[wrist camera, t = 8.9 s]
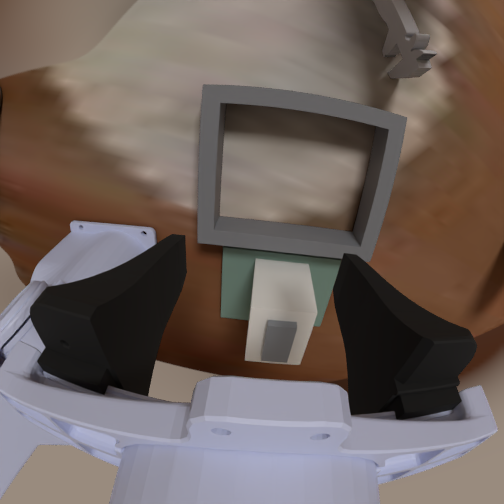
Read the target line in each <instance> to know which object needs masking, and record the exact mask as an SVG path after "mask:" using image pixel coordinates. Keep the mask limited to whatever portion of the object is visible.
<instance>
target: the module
mask: <svg viewBox="0 0 504 504" xmlns="http://www.w3.org/2000/svg"><path fill="white" fill-rule="evenodd" d="M316 316H317V307H316V301H315V295H314V289H313V284H312V278H311V273H310V268H309V264H304V263H294V262H285V261H276V260H266V259H257V258H256V260H255V269H254V278H253V287H252V295H251V304H250V313H249V323H248V333H247V342H246V352H245V361H254V362H265V363H278V364H294V365H300V362H301V360H302V357H303V354H304V351H305V349H306V346H307V343H308V340H309V337H310V334H311V331H312V328H313V325H314V322H315V319H316Z"/></svg>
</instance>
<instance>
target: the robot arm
mask: <svg viewBox="0 0 504 504" xmlns="http://www.w3.org/2000/svg"><path fill="white" fill-rule="evenodd" d="M81 225H82V226H83V228H82V226H81ZM70 227H71V233H70V234H68V235H67V236H66V237H65V238H64V239H63V240H62V241H61V242H60V243H59V244H57V245H56V246H55V247H54V248H53V249H52V250H51V251H50V252H49V253H48V254H47V255H46V256H45V257H44V258H43V259H42V260H41V261H40V262H39V263H38V265H37V266H36V268H35V270H34V272H33V275H32V278H31V283H30V284H29V285H27V286H26V287H25V288H24V289H23V290H22V291H21V292H20V293H19V294H18V295H17V296H16V297H15V298H14V299H13V301H12V302H11V303H10V304H9V305H8V306H7V307H6V309H5V310H4V311H3V312H2V313H1V315H0V499H1V498H2V496H3V494H4V493H5V492H6V490H7V489H8V487H9V486H10V484H11V482H12V481H13V480H14V479H15V477H16V476H17V474H18V473H19V471H20V470H21V469H22V467H23V466H24V464H25V463H26V461H27V460H28V459H29V457H30V456H31V455H32V453H33V452H34V451H35V449H36V448H37V446H38V445H72V446H74V447H76V448H78V449H80V450H82V451H84V452H86V453H88V454H90V455H92V456H94V457H96V458H99V459H101V460H103V461H105V462H108V463H110V464H113V465H115V466H118V467H119V468H118V472H117V476H116V479H115V483H114V487H113V490H112V494H111V498H110V502H109V504H380V497H379V487H378V484H382V483H386V482H390V481H394V480H397V479H400V478H403V477H407V476H410V475H413V474H416V473H419V472H422V471H425V470H428V469H431V468H433V467H436V466H439V465H442V464H444V463H447V462H449V461H452V460H454V459H457V458H460V457H462V456H463V455H465V454H466V453H468V452H469V451H471V450H472V449H474V448H475V447H477V446H478V445H480V444H481V443H482V442H484V441H485V440H486V439H488V438H489V437H491V435H493V434H494V433H496V432H497V430H498V428H497V426H496V423H495V420H494V417H493V414H492V411H491V409H490V406H489V404H488V401H487V399H486V396H485V393H484V391H483V389H482V386H481V385H478V386H475V387H471V388H466V389H464V390H462V391H460V392H458V390H457V387H456V386H458V385H459V384H460V381H459V379H458V375H459V374H460V373H461V372H462V371H463V369H464V368H465V367H466V366H467V365H468V363H469V362H470V361H471V359H472V358H473V356H474V354H475V352H476V348H477V344H476V342H475V340H474V338H473V336H472V334H471V333H470V331H469V330H468V329H466V328H463V327H460V326H458V325H455V324H453V323H450V322H448V321H446V320H444V319H442V318H440V317H438V316H436V315H434V314H432V313H430V312H429V311H427V310H425V309H424V308H422V307H420V306H419V305H417V304H416V303H414V302H413V301H411V300H410V299H408V298H407V297H406V296H404V295H403V294H402V293H400V292H399V291H398V290H396V289H395V288H394V287H393V286H392V285H390V284H389V283H388V282H387V281H386V280H385V279H384V278H382V277H381V276H380V275H379V274H378V273H377V272H376V271H375V270H374V269H373V268H372V267H370V266H369V265H368V264H367V263H366V262H365V261H364V260H363V259H361V258H360V257H359V256H358V255H356V254H348V253H344V254H343V258H342V261H341V264H340V268H339V271H338V274H337V277H336V281H335V284H334V287H333V294H334V303H335V309H336V313H337V317H338V321H339V325H340V329H341V333H342V337H343V341H344V346H345V351H346V360H347V371H348V393H349V394H348V395H347V392H346V391H345V390H343V389H342V388H341V387H340V386H338V385H336V384H330V383H325V382H312V381H287V380H272V379H260V378H249V377H239V376H212V377H210V378H207V379H204V380H202V381H199V382H197V384H196V386H195V388H194V391H193V395H192V400H191V403H181V402H178V403H177V402H170V401H165V400H161V399H156V398H152V397H148V393H149V388H150V383H151V378H152V373H153V369H154V364H155V360H156V356H157V352H158V349H159V345H160V342H161V338H162V335H163V332H164V329H165V327H166V324H167V322H168V320H169V318H170V315H171V313H172V311H173V309H174V306H175V304H176V302H177V300H178V297H179V295H180V293H181V290H182V287H183V284H184V280H185V277H186V273H187V270H186V247H185V235H176V234H172V235H170V236H168V237H166V238H165V239H163V240H162V241H160V242H158V243H157V241H156V232H155V230H154V229H153V228H151V227H141V226H130V225H119V224H108V223H96V222H85V221H73V222H71V224H70ZM143 231H145V232H146V233H147V234H144V233H143Z"/></svg>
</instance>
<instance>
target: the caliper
mask: <svg viewBox="0 0 504 504" xmlns="http://www.w3.org/2000/svg"><path fill="white" fill-rule="evenodd" d="M373 2H374V3H375V5H376V7H377V10H378V13H379V14H380V16H381V17H382V19H383V20H384V21H385V22H386V24H387V26H388V29H389V31H388V34H387V37H386V40H385V43H384V46H383V49H382V53H383V56H384V57H395V56H396V55H398V54H400V53H401V55H402V58H403V59H402V60H401V61H400V62H399V63H398V64H397V65H396V66H395V67H394V68H393V69H392V70H391V71H389V72H388V74H389V76H390V78H412V77H420V76H421V75H423V74H424V73H425V72H427V71H428V70H430V69H431V68H432V67H431V64H430V61H429V59H430V58H432V57H433V56H435V55H436V54H437V53H436V52H435V51H433V50H424V49H425V48H426V47H427V45H428V42H429V39H430V35H429V34H419V30H418V28H417V26H416V23H415V21H414V19H413V17H412V15H411V13H410V11H409V9H408V7H407V5H406V3H405V1H404V0H373Z"/></svg>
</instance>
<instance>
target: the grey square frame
mask: <svg viewBox="0 0 504 504" xmlns="http://www.w3.org/2000/svg"><path fill="white" fill-rule="evenodd" d="M226 103H233V104H247V105H259V106H269V107H278V108H286V109H293V110H300V111H306V112H313V113H318V114H324V115H329V116H335V117H339V118H344V119H349V120H353V121H358V122H362V123H366V124H370V125H374V126H376V130H375V136H374V141H373V146H372V151H371V157H370V161H369V166H368V171H367V176H366V180H365V184H364V189H363V193H362V197H361V201H360V205H359V209H358V213H357V217H356V221H355V225H354V228H353V232H349V231H342V230H335V229H327V228H319V227H312V226H304V225H295V224H287V223H279V222H270V221H261V220H252V219H242V218H233V217H223V216H219V214H220V192H221V174H222V157H223V141H224V127H225V114H226ZM406 121H407V117H404V116H401V115H398V114H394V113H391V112H388V111H384V110H381V109H377V108H373V107H370V106H366V105H362V104H358V103H354V102H349V101H345V100H340V99H336V98H331V97H325V96H320V95H314V94H308V93H302V92H296V91H288V90H280V89H272V88H262V87H250V86H235V85H203V90H202V104H201V120H200V140H199V166H198V243H203V244H213V245H222V246H231V247H240V248H249V249H259V250H268V251H277V252H286V253H295V254H304V255H313V256H322V257H331V258H340V259H342V258H343V254H344V253H348V254H356V255H358V256H359V257H360V258H361V259H363V260H364V261H366V262H370V260H371V257H372V254H373V251H374V248H375V245H376V242H377V239H378V236H379V233H380V229H381V226H382V223H383V219H384V216H385V213H386V209H387V206H388V202H389V198H390V194H391V191H392V187H393V183H394V179H395V175H396V170H397V166H398V162H399V157H400V153H401V148H402V143H403V138H404V132H405V127H406Z"/></svg>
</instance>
